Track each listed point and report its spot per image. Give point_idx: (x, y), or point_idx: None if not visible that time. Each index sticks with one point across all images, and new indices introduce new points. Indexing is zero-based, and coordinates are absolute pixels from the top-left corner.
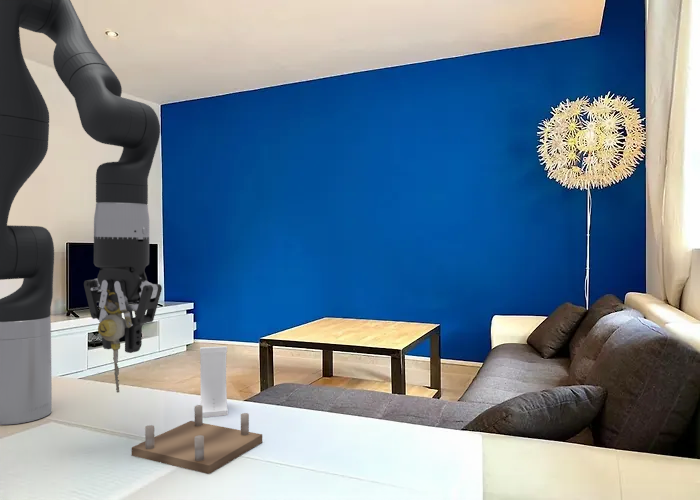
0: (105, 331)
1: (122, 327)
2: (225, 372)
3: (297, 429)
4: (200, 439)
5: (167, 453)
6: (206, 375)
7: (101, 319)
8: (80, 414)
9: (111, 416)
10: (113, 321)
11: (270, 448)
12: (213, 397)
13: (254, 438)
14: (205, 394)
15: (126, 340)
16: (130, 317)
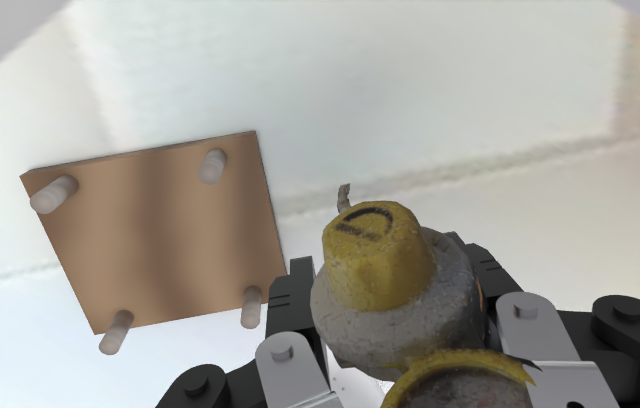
0: (342, 220)
1: (312, 313)
2: None
3: (108, 396)
4: (31, 198)
5: (152, 161)
6: None
7: (523, 306)
8: (587, 197)
9: (508, 230)
10: (354, 303)
11: (61, 314)
12: (346, 392)
13: (85, 313)
14: (364, 389)
15: (302, 285)
16: (262, 385)
